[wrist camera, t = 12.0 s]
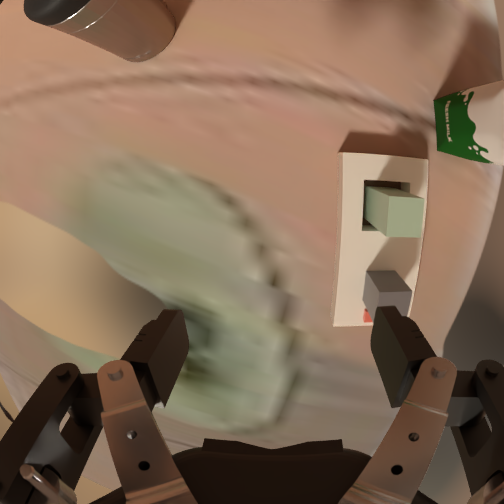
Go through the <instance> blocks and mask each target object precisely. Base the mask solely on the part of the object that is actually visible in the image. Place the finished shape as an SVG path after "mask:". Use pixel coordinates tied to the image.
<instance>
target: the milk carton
mask: <svg viewBox="0 0 504 504" xmlns="http://www.w3.org/2000/svg"><path fill="white" fill-rule="evenodd" d="M434 109H435V120H436V134H437V151H441V152H444V153H448V154H451V155H455V156H458V157H462V158H465V159H469V160H474V161H478V162H483V163H490V164H497V165H503V166H504V80H502V81H497V82H493V83H489V84H485V85H481V86H478V87H474V88H470V89H467V90H463V91H460V92H456V93H453V94H450V95H448V96H445V97H442V98H439V99H437V100H434Z"/></svg>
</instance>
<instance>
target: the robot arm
mask: <svg viewBox="0 0 504 504" xmlns="http://www.w3.org/2000/svg"><path fill="white" fill-rule="evenodd" d="M2 1H3V0H0V4H1V3H2ZM24 12H25V14H26V16H27V17H28V18H29V19H30V20H32V21H34V22H37V23H40V24H43V25H46V26H49V27H51V28H54V29H57V30H59V31H62V32H65V33H67V34H70V35H72V36H75V37H77V38H79V39H82V40H84V41H86V42H89V43H91V44H93V45H95V46H98V47H100V48H102V49H104V50H106V51H109V52H111V53H113V54H115V55H117V56H119V57H121V58H123V59H125V60H127V61H131V62H141V61H145V60H148V59H150V58H152V57H154V56H156V55H157V54H159V53H160V52H161V51H162V50H163V49H164V48H165V47H166V46H167V45H168V44H169V42H170V41H171V39H172V37H173V35H174V32H175V19H174V17H173V15H172V14H171V13H170V12H169V11H168V10H167V5H166V4H165V3H164V2H163V0H24ZM188 351H189V339H188V334H187V329H186V325H185V320H184V315H183V312H182V310H175V309H164V310H163V311H162V312H161V313H160V315H159V316H158V318H157V320H152V321H150V322H149V323H147V324H146V325H144V326H143V328H142V329H141V331H140V332H139V334H138V335H137V336H136V338H135V339H134V341H133V342H132V343H131V345H130V346H129V348H128V349H127V351H126V352H125V353H124V355H123V356H122V358H121V359H120V360H114V361H110V362H108V363H106V364H104V365H103V366H102V367H101V368H100V369H99V370H98V372H97V373H90V374H81V373H80V371H79V369H78V367H77V366H76V365H75V364H73V363H63V364H60V365H58V366H56V367H54V368H53V369H52V370H51V371H50V372H49V374H48V375H47V376H46V378H45V379H44V380H43V382H42V383H41V384H40V385H39V387H38V388H37V389H36V391H35V392H34V393H33V395H32V396H31V398H30V399H29V400H28V402H27V403H26V404H25V406H24V407H23V409H22V410H21V411H20V413H19V415H18V416H17V417H16V419H15V420H14V421H13V423H12V425H11V426H10V427H9V429H8V430H7V432H6V433H5V435H4V436H3V438H2V440H1V441H0V504H77V498H76V495H75V493H74V490H75V487H76V485H77V483H78V480H79V478H80V476H81V474H82V471H83V469H84V467H85V465H86V462H87V460H88V458H89V456H90V454H91V451H92V449H93V447H94V445H95V443H96V441H97V439H98V436H99V434H100V432H101V430H102V428H103V426H104V430H105V434H106V438H107V441H108V445H109V448H110V452H111V455H112V459H113V462H114V465H115V468H116V471H117V474H118V477H119V480H120V482H121V485H122V486H121V487H120V488H118V489H116V490H114V491H112V492H111V493H109V494H107V495H105V496H103V497H101V498H99V499H97V500H95V501H93V502H91V503H89V504H438V503H436V502H435V501H433V500H432V499H430V498H429V497H427V496H426V495H424V494H423V493H421V492H420V491H419V490H418V488H419V486H420V484H421V482H422V480H423V478H424V476H425V474H426V472H427V470H428V467H429V464H430V463H431V460H432V458H433V456H434V453H435V451H436V448H437V446H438V443H439V440H440V438H441V435H442V432H443V429H444V427H445V426H450V427H451V430H452V433H453V436H454V438H455V441H456V444H457V447H458V450H459V453H460V457H461V460H462V463H463V466H464V470H465V473H466V477H467V480H468V484H469V488H470V492H471V497H470V499H469V501H468V503H467V504H504V367H503V366H502V365H501V364H500V363H498V362H496V361H494V360H482V361H480V362H479V363H478V364H477V367H476V369H475V371H458V370H457V369H456V367H455V366H454V364H453V363H451V362H450V361H449V360H447V359H444V358H441V357H437V356H436V354H435V353H434V351H433V349H432V348H431V346H430V345H429V343H428V341H427V340H426V338H425V337H424V335H423V334H422V332H421V331H420V329H419V327H418V326H417V324H416V323H415V322H414V321H413V320H411V319H410V318H409V317H407V316H402V315H401V314H400V312H399V311H398V309H397V307H396V306H395V305H391V306H378V307H377V308H376V311H375V317H374V323H373V329H372V334H371V351H372V354H373V356H374V359H375V362H376V365H377V367H378V370H379V373H380V376H381V378H382V381H383V384H384V387H385V390H386V393H387V396H388V398H389V401H390V404H391V407H392V408H395V407H401V408H400V410H399V412H398V413H397V415H396V417H395V419H394V421H393V423H392V425H391V426H390V428H389V430H388V432H387V433H386V435H385V437H384V438H383V440H382V442H381V444H380V445H379V447H378V448H377V450H376V452H375V453H374V455H373V456H372V457H371V456H369V455H367V454H365V453H362V452H359V451H356V450H351V449H345V448H343V445H342V439H339V440H328V441H312V442H305V443H301V444H297V445H292V446H288V447H283V448H278V449H267V448H262V447H258V446H254V445H250V444H246V443H242V442H239V441H228V440H216V439H207V438H205V439H204V443H203V447H198V448H193V449H188V450H185V451H182V452H179V453H176V454H174V455H172V454H171V452H170V450H169V448H168V446H167V444H166V442H165V440H164V438H163V436H162V434H161V432H160V430H159V428H158V425H157V423H156V421H155V419H154V417H153V415H152V410H153V408H154V407H160V408H165V406H166V403H167V401H168V399H169V396H170V394H171V392H172V389H173V387H174V385H175V382H176V380H177V378H178V375H179V373H180V371H181V368H182V366H183V364H184V361H185V359H186V357H187V354H188ZM67 411H68V413H69V414H70V417H69V419H68V421H67V422H66V424H65V426H64V428H63V429H62V431H61V433H60V431H59V426H60V423H61V421H62V419H63V417H64V416H65V414H66V412H67ZM485 414H487V416H488V418H489V421H490V423H491V426H492V433H491V431H490V428H489V426H488V424H487V421H486V419H485V417H484V416H485Z"/></svg>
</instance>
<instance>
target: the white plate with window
mask: <svg viewBox="0 0 504 504" xmlns="http://www.w3.org/2000/svg"><path fill="white" fill-rule="evenodd" d="M364 180H380V181H395V182H401V190H402V191H405V192H408V193H411V194H413V195H416V196H419V197H421V198H424V211H423V221H422V230H421V238H415V237H386V236H385V235H384V234H382V233H381V232H380V231H379V230H378V229H377V228H375V227H374V226H373V225H362V218H363V194H364ZM427 189H428V159H419V158H411V157H401V156H391V155H379V154H364V153H347V152H339V153H338V207H337V235H336V253H335V269H334V282H333V294H332V304H331V314H330V316H331V320H332V324H333V327H336V326H365V325H373V323H374V317H375V311H376V308H377V307H378V306H391V305H395V306H396V307H397V309H398V311H399V312H400V314H401V315H402V316H407V317H409V315H410V310H411V306H412V301H413V297H414V292H415V287H416V281H417V276H418V270H419V264H420V258H421V251H422V243H423V235H424V226H425V216H426V204H427Z"/></svg>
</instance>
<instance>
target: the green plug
mask: <svg viewBox="0 0 504 504" xmlns="http://www.w3.org/2000/svg"><path fill="white" fill-rule="evenodd" d="M423 211H424V198H421V197H419V196H416V195H413V194H411V193H408V192H405V191H402V190H399V189H396V188H392V187H376V186H365V195H364V215H363V217H364V218H365V219H366V220H367V221H368V222H370V223H371V224H372V225H373V226H374V227H375V228H377V229H378V230H379V231H380V232H381V233H382V234H384V235H385V236H386V237H415V238H421V230H422V221H423Z"/></svg>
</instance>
